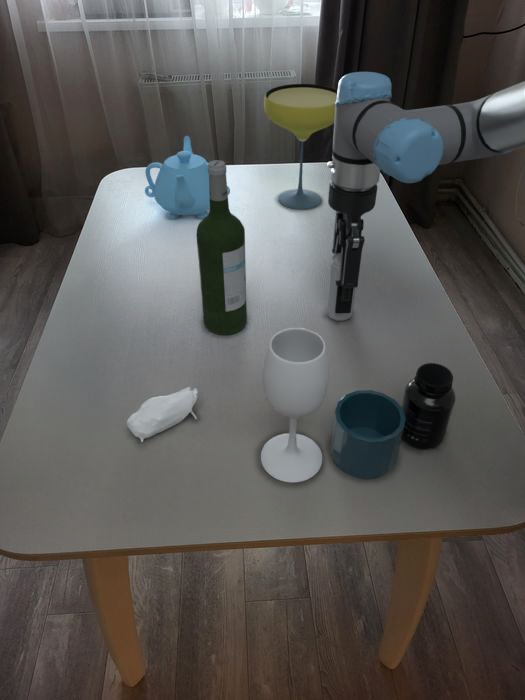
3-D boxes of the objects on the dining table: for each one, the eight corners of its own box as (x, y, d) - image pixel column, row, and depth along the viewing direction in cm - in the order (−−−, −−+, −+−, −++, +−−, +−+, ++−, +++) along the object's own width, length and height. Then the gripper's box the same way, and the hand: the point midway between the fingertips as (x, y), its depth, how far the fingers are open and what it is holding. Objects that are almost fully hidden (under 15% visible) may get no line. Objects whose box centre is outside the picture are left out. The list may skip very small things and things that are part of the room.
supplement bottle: (407, 409, 86) (422, 350, 78) (450, 429, 83) (469, 369, 75) (388, 437, 81) (401, 378, 74) (432, 459, 78) (451, 399, 71)
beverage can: (357, 316, 104) (365, 261, 96) (337, 325, 101) (343, 269, 94) (340, 304, 107) (346, 249, 99) (320, 312, 104) (325, 257, 97)
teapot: (183, 234, 127) (177, 175, 118) (138, 204, 138) (129, 148, 129) (238, 212, 135) (237, 155, 126) (191, 186, 146) (187, 132, 137)
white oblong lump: (178, 405, 88) (120, 423, 82) (188, 376, 84) (127, 392, 78) (194, 428, 86) (135, 448, 80) (204, 399, 81) (143, 418, 75)
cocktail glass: (282, 222, 131) (285, 112, 115) (252, 191, 144) (251, 89, 127) (349, 208, 137) (360, 101, 120) (314, 179, 149) (320, 79, 133)
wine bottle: (217, 305, 106) (207, 149, 87) (254, 316, 104) (252, 158, 84) (196, 328, 101) (179, 168, 81) (234, 340, 98) (227, 178, 79)
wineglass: (329, 478, 76) (343, 365, 62) (266, 487, 75) (267, 373, 61) (314, 430, 82) (324, 318, 69) (256, 438, 81) (255, 325, 68)
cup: (408, 450, 80) (418, 412, 74) (371, 490, 74) (380, 453, 69) (355, 418, 84) (361, 380, 79) (317, 454, 79) (321, 416, 74)
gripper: (322, 160, 94) (314, 276, 109) (338, 209, 80) (326, 334, 95) (366, 159, 94) (352, 275, 109) (389, 207, 80) (369, 332, 96)
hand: (340, 302), depth 102 cm, fingers closed on beverage can, 5 cm apart
